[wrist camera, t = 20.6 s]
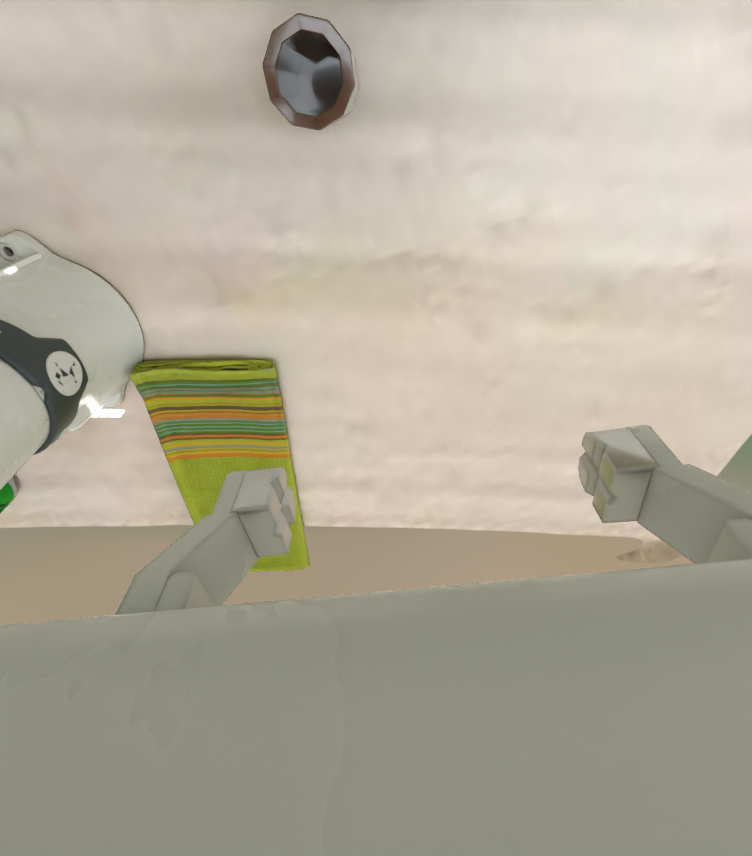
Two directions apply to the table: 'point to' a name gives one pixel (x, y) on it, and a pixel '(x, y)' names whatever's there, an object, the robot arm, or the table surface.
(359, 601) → the robot arm
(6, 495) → the soda can
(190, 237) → the table surface
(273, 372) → the dish towel
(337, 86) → the ball stand
